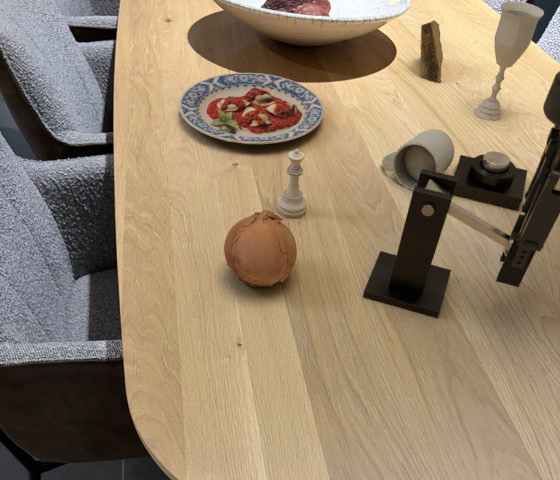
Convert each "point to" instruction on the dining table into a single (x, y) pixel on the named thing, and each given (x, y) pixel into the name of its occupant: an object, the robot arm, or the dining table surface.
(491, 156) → the push button
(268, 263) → the onion
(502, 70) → the chalice
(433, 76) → the rock
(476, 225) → the flush lever
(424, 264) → the lever bracket
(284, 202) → the chess piece
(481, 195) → the push button base
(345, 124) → the dining table surface
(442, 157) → the ceramic mug
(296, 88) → the ceramic plate
